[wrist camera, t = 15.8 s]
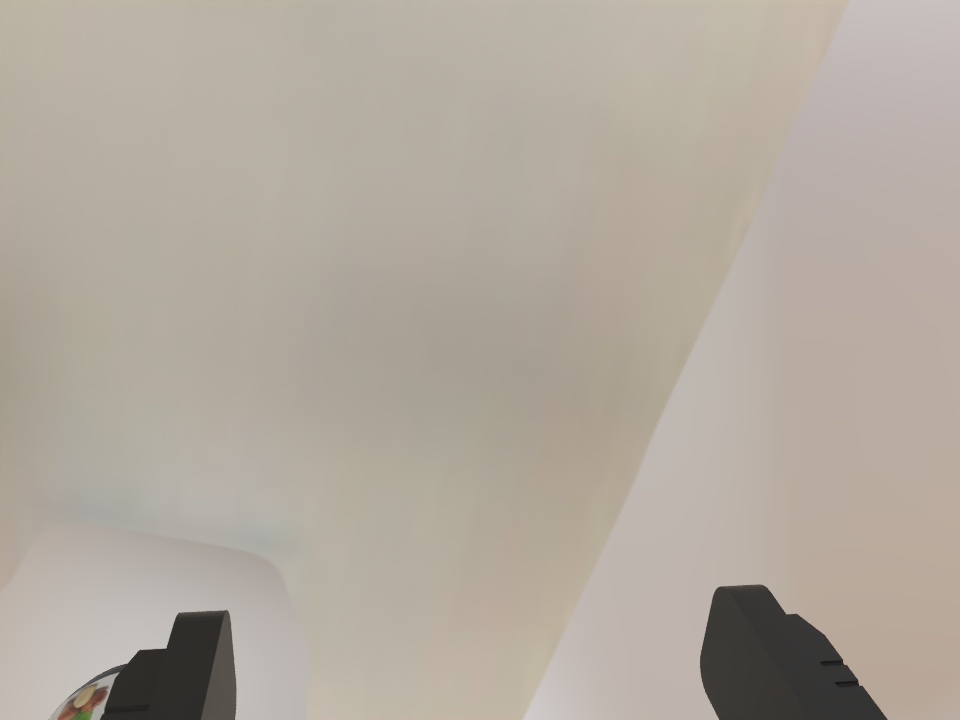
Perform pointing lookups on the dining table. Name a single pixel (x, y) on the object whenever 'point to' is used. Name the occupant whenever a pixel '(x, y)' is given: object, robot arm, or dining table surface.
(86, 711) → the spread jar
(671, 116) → the dining table surface
